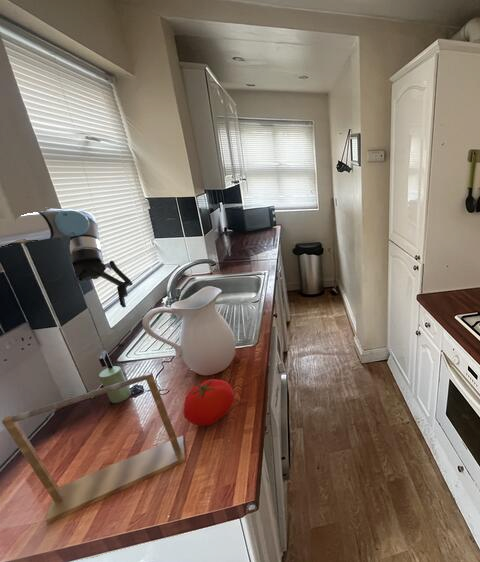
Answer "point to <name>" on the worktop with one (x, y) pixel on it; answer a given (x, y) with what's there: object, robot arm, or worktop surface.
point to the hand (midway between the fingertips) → (95, 311)
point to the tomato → (208, 402)
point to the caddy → (113, 379)
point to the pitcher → (199, 332)
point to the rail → (109, 477)
